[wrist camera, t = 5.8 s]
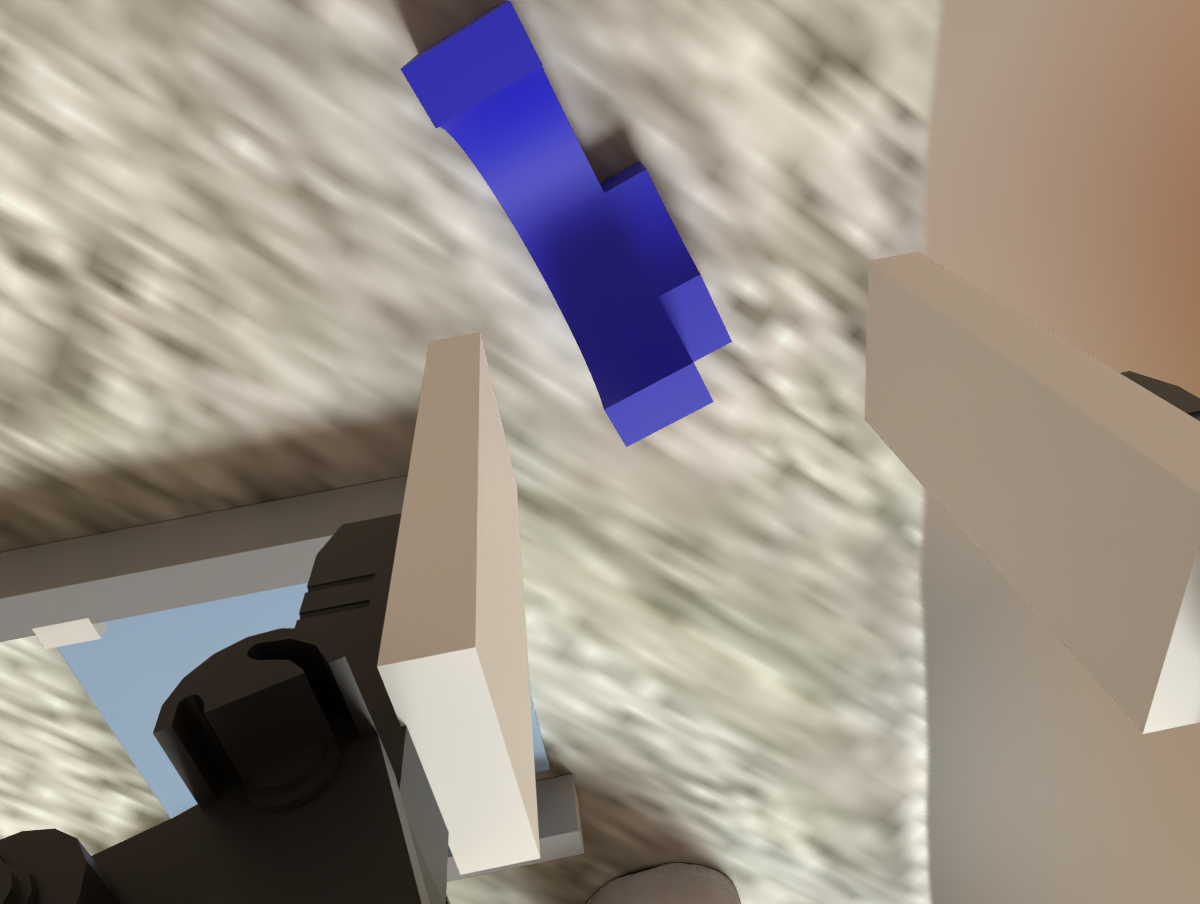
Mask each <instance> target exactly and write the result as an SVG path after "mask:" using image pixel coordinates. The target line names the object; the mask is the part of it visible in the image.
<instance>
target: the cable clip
mask: <svg viewBox="0 0 1200 904" xmlns="http://www.w3.org/2000/svg"><path fill="white" fill-rule="evenodd" d="M401 71H402V72H403V74H404V76H405V77H406V79H407V81H408V82H409V84H410V86H411V87H412V89H413V91H414V92H415V94H416V96H417V97H418V99H419V101H420V102H421V104H422V106H423V107H424V109H425V111H426V112H427V114H428V116H429V117H430V119H431V121H432V123H433V124H434V126H435V128H438V127H441V128H443V129H445V130H446V131H447V132H448V133H449V134H450V135H451V136H452V137H453V138H454V139H455V140H456V142H457V143H458V144H459V145H460V146H461V148H462V149H463V150H464V151H465V153H466V154H467V155H468V157H469V158H470V159H471V161H472V162H473V164H474V165H475V166H476V168H477V169H478V171H479V172H480V173H481V175H482V176H483V178H484V179H485V181H486V182H487V184H488V185H489V187H490V188H491V190H492V192H493V193H494V195H495V196H496V198H497V199H498V201H499V202H500V204H501V206H502V207H503V209H504V210H505V212H506V214H507V215H508V217H509V219H510V220H511V222H512V224H513V225H514V227H515V229H516V230H517V232H518V234H519V235H520V237H521V239H522V240H523V242H524V244H525V246H526V247H527V249H528V251H529V253H530V254H531V256H532V258H533V260H534V261H535V263H536V265H537V267H538V269H539V270H540V272H541V274H542V276H543V278H544V279H545V281H546V283H547V285H548V287H549V289H550V291H551V292H552V294H553V296H554V298H555V300H556V302H557V304H558V306H559V308H560V310H561V312H562V314H563V316H564V318H565V320H566V322H567V324H568V325H569V328H570V330H571V332H572V334H573V336H574V338H575V340H576V342H577V344H578V346H579V348H580V350H581V353H582V355H583V357H584V359H585V361H586V364H587V366H588V368H589V371H590V373H591V375H592V378H593V380H594V382H595V385H596V388H597V390H598V393H599V396H600V398H601V401H602V404H603V408H604V410H605V412H606V414H607V415H608V417H609V419H610V420H611V422H612V424H613V425H614V427H615V429H616V430H617V432H618V434H619V435H620V437H621V439H622V440H623V442H624V444H625V445H626V447H627V446H629V445H631V444H633V443H635V442H637V441H639V440H641V439H643V438H645V437H647V436H649V435H650V434H652V433H654V432H656V431H658V430H660V429H662V428H664V427H666V426H668V425H670V424H672V423H674V422H676V421H677V420H679V419H681V418H683V417H685V416H687V415H689V414H691V413H693V412H695V411H697V410H699V409H701V408H702V407H704V406H706V405H708V404H710V403H712V402H713V400H712V398H711V396H710V394H709V392H708V390H707V388H706V386H705V384H704V382H703V380H702V378H701V376H700V374H699V372H698V370H697V368H696V366H695V364H694V361H696V360H698V359H700V358H702V357H704V356H706V355H708V354H709V353H711V352H713V351H715V350H717V349H719V348H721V347H723V346H725V345H727V344H728V343H730V342H732V341H731V339H730V336H729V334H728V332H727V330H726V328H725V326H724V324H723V322H722V319H721V317H720V315H719V313H718V311H717V309H716V307H715V305H714V303H713V300H712V298H711V296H710V294H709V292H708V290H707V288H706V286H705V283H704V281H703V279H702V277H701V275H700V273H699V271H698V269H697V268H696V266H695V264H694V262H693V260H692V258H691V257H690V255H689V253H688V251H687V249H686V247H685V245H684V243H683V241H682V240H681V238H680V236H679V234H678V232H677V230H676V228H675V226H674V224H673V222H672V220H671V218H670V216H669V214H668V212H667V210H666V208H665V206H664V204H663V202H662V200H661V198H660V196H659V194H658V192H657V190H656V188H655V186H654V184H653V182H652V180H651V178H650V176H649V174H648V171H647V169H646V168H645V167H644V166H643V165H642V164H641V163H640V162H638V163H636V164H634V165H632V166H631V167H629V168H627V169H625V170H624V171H622V172H620V173H618V174H617V175H615V176H613V177H611V178H610V179H608V180H606V181H604V182H603V183H601V184H599V182H598V180H597V178H596V176H595V174H594V172H593V170H592V168H591V166H590V164H589V162H588V160H587V158H586V156H585V154H584V152H583V150H582V148H581V146H580V144H579V142H578V140H577V138H576V136H575V134H574V132H573V130H572V128H571V126H570V124H569V122H568V120H567V118H566V116H565V114H564V112H563V110H562V108H561V106H560V104H559V102H558V99H557V97H556V95H555V93H554V91H553V89H552V87H551V85H550V83H549V81H548V78H547V76H546V74H545V72H544V70H543V67H542V63H541V61H540V59H539V57H538V55H537V53H536V51H535V49H534V47H533V45H532V43H531V41H530V40H529V38H528V36H527V34H526V32H525V30H524V28H523V26H522V24H521V22H520V20H519V18H518V16H517V14H516V12H515V10H514V8H513V6H512V4H511V2H510V1H506V0H505V1H503V2H501V3H500V4H498V5H496V6H495V7H493V8H492V9H490V10H488V11H487V12H485V13H484V14H482V15H480V16H479V17H477V18H475V19H474V20H472V21H471V22H469V23H467V24H466V25H464V26H463V27H461V28H459V29H458V30H456V31H454V32H453V33H451V34H450V35H448V36H446V37H445V38H443V39H442V40H440V41H438V42H437V43H435V44H433V45H432V46H430V47H429V48H427V49H425V50H424V51H422V52H421V53H419V54H418V55H416V56H415V57H414V58H413V59H412V60H411V61H409V62H408V63H407V64H406V65H405V66H403V67H402V68H401Z"/></svg>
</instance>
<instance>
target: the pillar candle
mask: <svg viewBox="0 0 1200 904" xmlns="http://www.w3.org/2000/svg"><path fill="white" fill-rule="evenodd" d="M586 904H741V902H740V898H739V895H738V892H737V890H736V888H735V886H734V885H733V883H732V882H731V881H730V880H729V879H728V878H727V877H725V876H724V875H723V874H722V873H719V872H717V871H715V870H713V869H711V868H706V867H704V866H702V865H695V864H686V863H671V864H665V865H661V866H658V867H655V868H653V869H650V870H646V871H642V872H638V873H634V874H631V875H627V876H623V877H620V878H617V879H615V880H612V881H611V882H609V883H607V884H606V885H604V886H603V887H601V888H600V889H599V890H598V891H597V892H595V894H594V895H593V896H592V897H591V898H590V899H589V900H588V902H587V903H586Z"/></svg>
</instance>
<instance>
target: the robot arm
mask: <svg viewBox="0 0 1200 904" xmlns="http://www.w3.org/2000/svg"><path fill="white" fill-rule="evenodd" d="M865 421H866V422H867V423H868V424H869V425H870V426H871V427H872V428H873V430H874V431H875V432H876V433H877V434H878V435H879V436H880V438H881V439H882V440H883V441H884V442H885V443H886V444H887V445H888V447H889V448H890V449H891V450H892V451H893V452H894V453H895V454H896V456H897V457H898V458H899V459H900V460H901V461H902V462H903V464H904V465H905V466H906V467H907V468H908V469H909V470H910V471H911V473H912V474H913V475H914V476H915V477H916V478H917V479H918V480H919V482H920V483H921V484H922V485H923V486H924V487H925V488H926V490H927V491H928V492H929V493H930V494H931V495H932V496H933V497H934V499H935V500H936V501H937V502H938V503H939V504H940V505H941V506H942V508H943V509H944V510H945V511H946V512H947V513H948V514H949V516H950V517H951V518H952V519H953V520H954V521H955V522H956V523H957V524H958V526H959V527H960V528H961V529H962V530H963V531H964V532H965V534H966V535H967V536H968V537H969V538H970V539H971V540H972V542H973V543H974V544H975V545H976V546H977V547H978V548H979V549H980V551H981V552H982V553H983V554H984V555H985V556H986V557H987V558H988V560H989V561H990V562H991V563H992V564H993V565H994V566H995V568H996V569H997V570H998V571H999V572H1000V573H1001V574H1002V575H1003V576H1004V578H1005V579H1006V580H1007V581H1008V582H1009V583H1010V584H1011V586H1012V587H1013V588H1014V589H1015V590H1016V591H1017V592H1018V593H1019V595H1020V596H1021V597H1022V598H1023V599H1024V600H1025V601H1026V603H1027V604H1028V605H1029V606H1030V607H1031V608H1032V609H1033V610H1034V612H1035V613H1036V614H1037V615H1038V616H1039V617H1040V618H1041V620H1042V621H1043V622H1044V623H1045V624H1046V625H1047V626H1048V627H1049V629H1050V630H1051V631H1052V632H1053V633H1054V634H1055V635H1056V636H1057V637H1058V639H1059V640H1060V641H1061V642H1062V643H1063V644H1064V646H1065V647H1066V648H1067V649H1068V650H1069V651H1070V652H1071V653H1072V655H1073V656H1074V657H1075V658H1076V659H1077V660H1078V661H1079V662H1080V664H1081V665H1082V666H1083V667H1084V668H1085V669H1086V670H1087V672H1088V673H1089V674H1090V675H1091V676H1092V677H1093V678H1094V679H1095V681H1096V682H1097V683H1098V684H1099V685H1100V686H1101V687H1102V688H1103V689H1104V691H1105V692H1106V693H1107V694H1108V695H1109V696H1110V697H1111V699H1112V700H1113V701H1114V702H1115V703H1116V704H1117V705H1118V707H1119V708H1120V709H1121V710H1122V711H1123V712H1124V713H1125V714H1126V716H1127V717H1128V718H1129V719H1130V720H1131V721H1132V722H1133V724H1135V726H1136V727H1137V728H1138V729H1139V730H1140V731H1141V733H1142V734H1145V733H1150V732H1154V731H1160V730H1164V729H1169V728H1174V727H1179V726H1184V725H1188V724H1193V723H1198V722H1200V398H1198V397H1196V396H1194V395H1192V394H1191V393H1189V392H1187V391H1185V390H1184V389H1182V388H1180V387H1178V386H1176V385H1172V384H1169V383H1166V382H1163V381H1160V380H1156V379H1153V378H1150V377H1147V376H1143V375H1140V374H1137V373H1134V372H1131V371H1128V372H1123V373H1119V372H1117V371H1115V370H1114V369H1112V368H1110V367H1109V366H1107V365H1105V364H1104V363H1102V362H1100V361H1099V360H1097V359H1095V358H1094V357H1092V356H1090V355H1089V354H1087V353H1085V352H1084V351H1082V350H1080V349H1079V348H1077V347H1075V346H1074V345H1072V344H1070V343H1069V342H1067V341H1065V340H1064V339H1062V338H1061V337H1059V336H1057V335H1055V334H1054V333H1052V332H1051V331H1049V330H1047V329H1046V328H1044V327H1042V326H1040V325H1039V324H1037V323H1036V322H1034V321H1032V320H1031V319H1029V318H1027V317H1026V316H1024V315H1022V314H1021V313H1019V312H1017V311H1016V310H1014V309H1012V308H1011V307H1009V306H1007V305H1006V304H1004V303H1002V302H1001V301H999V300H997V299H996V298H994V297H992V296H991V295H989V294H987V293H986V292H984V291H983V290H981V289H979V288H977V287H976V286H974V285H973V284H971V283H969V282H967V281H966V280H964V279H963V278H961V277H959V276H958V275H956V274H954V273H953V272H951V271H949V270H948V269H946V268H944V267H943V266H941V265H939V264H938V263H936V262H934V261H933V260H931V259H929V258H928V257H926V256H924V255H923V254H921V253H919V252H914V253H909V254H903V255H898V256H892V257H887V258H882V259H876V260H871V261H869V280H868V317H867V354H866V391H865ZM307 588H308V592H307V593H305V595H304V598H303V601H302V605H301V608H300V611H299V615H300V620H297V621H296V625H295V628H280V629H276V630H272V631H269V632H265V633H261V634H257V635H253V636H249V637H246V638H244V639H242V640H240V641H238V642H236V643H234V644H232V645H230V646H229V647H227V648H225V649H223V650H221V651H219V652H217V653H215V654H213V655H212V656H210V657H209V658H208V659H207V660H205V661H204V662H203V663H201V664H200V665H199V666H198V667H196V668H195V669H194V670H193V671H191V672H190V673H189V674H188V675H186V676H185V677H184V678H183V679H182V680H181V682H180V683H179V684H178V685H177V687H176V688H175V689H174V691H173V692H172V693H171V694H170V696H169V697H168V698H167V699H166V701H165V702H164V703H163V705H162V707H161V710H160V713H159V716H158V719H157V722H156V725H155V728H154V731H153V735H154V736H155V738H156V739H157V741H158V742H159V744H160V746H161V747H162V749H163V750H164V752H165V753H166V755H167V757H168V758H169V760H170V761H171V763H172V764H173V766H174V767H175V769H176V771H177V772H178V774H179V775H180V777H181V778H182V780H183V782H184V783H185V785H186V786H187V788H188V789H189V791H190V793H191V794H192V796H193V797H194V799H195V800H196V802H197V805H195V806H193V807H191V808H190V809H188V810H186V811H184V812H182V813H181V814H179V815H177V816H175V817H173V818H172V819H170V820H168V821H165V822H163V823H161V824H159V825H157V826H155V827H153V828H151V829H148V830H146V831H144V832H142V833H140V834H138V835H136V836H133V837H131V838H129V839H127V840H125V841H123V842H121V843H118V844H116V845H114V846H112V847H110V848H108V849H106V850H103V851H101V852H99V853H97V854H95V855H93V856H90V854H89V853H88V852H87V851H86V849H85V848H84V847H83V845H82V844H81V843H80V842H79V840H78V839H77V838H75V837H72V836H70V835H68V834H66V833H63V832H61V831H59V830H57V829H44V830H32V831H22V832H19V833H17V834H14V835H12V836H9V837H6V838H4V839H1V840H0V904H450V902H449V900H448V897H447V895H446V884H447V861H448V845H449V847H450V850H451V852H452V855H453V857H454V860H455V862H456V865H457V867H458V870H459V872H460V875H462V874H467V873H472V872H477V871H482V870H486V869H491V868H496V867H501V866H506V865H511V864H515V863H520V862H525V861H530V860H535V859H540V844H539V829H538V813H537V797H536V781H535V765H534V750H533V734H532V718H531V702H530V686H529V671H528V655H527V639H526V623H525V607H524V592H523V576H522V560H521V544H520V528H519V513H518V497H517V485H516V481H515V476H514V472H513V468H512V464H511V460H510V455H509V451H508V447H507V443H506V439H505V434H504V430H503V426H502V422H501V418H500V413H499V409H498V405H497V401H496V397H495V392H494V388H493V384H492V380H491V376H490V371H489V367H488V363H487V359H486V355H485V350H484V346H483V342H482V338H481V333H480V332H479V333H474V334H469V335H463V336H458V337H452V338H447V339H441V340H436V341H431V342H429V346H428V352H427V359H426V365H425V371H424V377H423V384H422V390H421V396H420V402H419V408H418V415H417V421H416V427H415V433H414V440H413V446H412V452H411V458H410V464H409V471H408V477H407V483H406V489H405V496H404V502H403V508H402V513H400V514H395V515H389V516H384V517H379V518H374V519H368V520H363V521H358V522H353V523H347V524H342V525H341V526H340V528H339V529H338V530H337V531H336V532H335V534H334V535H333V536H332V537H331V538H330V539H329V541H328V542H327V543H326V544H325V545H324V546H323V548H322V549H321V550H320V551H319V552H318V554H317V555H316V558H315V561H314V565H313V568H312V571H311V575H310V578H309V581H308V585H307Z"/></svg>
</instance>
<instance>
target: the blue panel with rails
mask: <svg viewBox="0 0 1200 904" xmlns="http://www.w3.org/2000/svg"><path fill="white" fill-rule="evenodd" d="M407 477H408V475H407V476H402V477H397V478H391V479H386V480H381V481H376V482H370V483H365V484H360V485H354V486H349V487H344V488H339V489H333V490H328V491H323V492H317V493H312V494H307V495H302V496H296V497H291V498H286V499H280V500H275V501H270V502H265V503H259V504H254V505H249V506H243V507H238V508H233V509H228V510H222V511H217V512H212V513H206V514H201V515H196V516H191V517H185V518H180V519H175V520H169V521H164V522H159V523H154V524H148V525H143V526H138V527H132V528H127V529H122V530H117V531H111V532H106V533H101V534H95V535H90V536H85V537H80V538H74V539H69V540H64V541H58V542H53V543H48V544H43V545H37V546H32V547H27V548H21V549H16V550H11V551H6V552H0V642H3V641H8V640H13V639H18V638H24V637H29V636H34V635H36V636H37V637H38V639H39V640H40V642H41V643H42V645H43V646H44V648H45V649H50V648H55V647H56V648H57V649H58V651H59V652H60V654H61V655H62V657H63V658H64V660H65V661H66V663H67V664H68V666H69V667H70V669H71V670H72V672H73V673H74V675H75V676H76V678H77V679H78V681H79V682H80V684H81V685H82V687H83V688H84V690H85V691H86V693H87V694H88V696H89V697H90V699H91V700H92V702H93V703H94V705H95V706H96V708H97V709H98V711H99V712H100V714H101V715H102V717H103V718H104V720H105V721H106V723H107V724H108V726H109V727H110V729H111V730H112V732H113V733H114V735H115V736H116V738H117V739H118V741H119V742H120V743H121V745H122V746H123V748H124V749H125V751H126V752H127V754H128V755H129V757H130V758H131V760H132V761H133V763H134V764H135V766H136V767H137V769H138V770H139V772H140V773H141V775H142V776H143V778H144V779H145V781H146V782H147V784H148V785H149V787H150V788H151V790H152V791H153V793H154V794H155V796H156V797H157V799H158V800H159V802H160V803H161V805H162V806H163V808H164V809H165V811H166V812H167V814H168V815H169V817H170V818H171V819H172V818H173V817H175V816H177V815H179V814H181V813H182V812H184V811H186V810H188V809H190V808H191V807H193V806H195V805H197V802H196V800H195V799H194V797H193V796H192V794H191V793H190V791H189V789H188V788H187V786H186V785H185V783H184V782H183V780H182V778H181V777H180V775H179V774H178V772H177V771H176V769H175V767H174V766H173V764H172V763H171V761H170V760H169V758H168V757H167V755H166V753H165V752H164V750H163V749H162V747H161V746H160V744H159V742H158V741H157V739H156V738H155V736H154V735H153V731H154V728H155V725H156V722H157V719H158V716H159V713H160V710H161V707H162V705H163V703H164V702H165V701H166V699H167V698H168V697H169V696H170V694H171V693H172V692H173V691H174V689H175V688H176V687H177V685H178V684H179V683H180V682H181V680H182V679H183V678H184V677H185V676H186V675H188V674H189V673H190V672H191V671H193V670H194V669H195V668H196V667H198V666H199V665H200V664H201V663H203V662H204V661H205V660H207V659H208V658H209V657H210V656H212V655H213V654H215V653H217V652H219V651H221V650H223V649H225V648H227V647H229V646H230V645H232V644H234V643H236V642H238V641H240V640H242V639H244V638H246V637H249V636H253V635H257V634H261V633H265V632H269V631H272V630H276V629H280V628H295V625H296V621H297V620H300V615H299V611H300V608H301V605H302V601H303V598H304V595H305V593H307V592H308V588H307V585H308V581H309V578H310V575H311V571H312V568H313V565H314V561H315V558H316V555H317V554H318V552H319V551H320V550H321V549H322V548H323V546H324V545H325V544H326V543H327V542H328V541H329V539H330V538H331V537H332V536H333V535H334V534H335V532H336V531H337V530H338V529H339V528H340V526H341V525H342V524H347V523H353V522H358V521H363V520H368V519H374V518H379V517H384V516H389V515H395V514H400V513H402V508H403V502H404V496H405V489H406V483H407ZM530 702H531V718H532V734H533V750H534V765H535V773H537V772H542V771H547V770H550V767H549V762H548V758H547V754H546V751H545V747H544V743H543V740H542V736H541V732H540V728H539V725H538V721H537V717H536V714H535V710H534V706H533V702H532V699H531V695H530ZM536 797H537V813H538V829H539V844H540V859H535V860H530V861H525V862H520V863H515V864H511V865H506V866H501V867H496V868H491V869H486V870H482V871H477V872H472V873H467V874H462V875H460V872H459V870H458V867H457V865H456V862H455V860H454V857H453V855H452V852H451V850H450V847H449V845H448V861H447V882H449V881H454V880H459V879H464V878H469V877H473V876H478V875H483V874H488V873H493V872H498V871H503V870H507V869H512V868H517V867H522V866H527V865H532V864H536V863H541V862H546V861H551V860H556V859H561V858H566V857H570V856H575V855H580V854H584V845H583V836H582V828H581V819H580V810H579V801H578V795H577V791H576V787H575V783H574V779H573V775H572V774H569V775H565V776H560V777H555V778H550V779H545V780H540V781H536Z"/></svg>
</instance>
